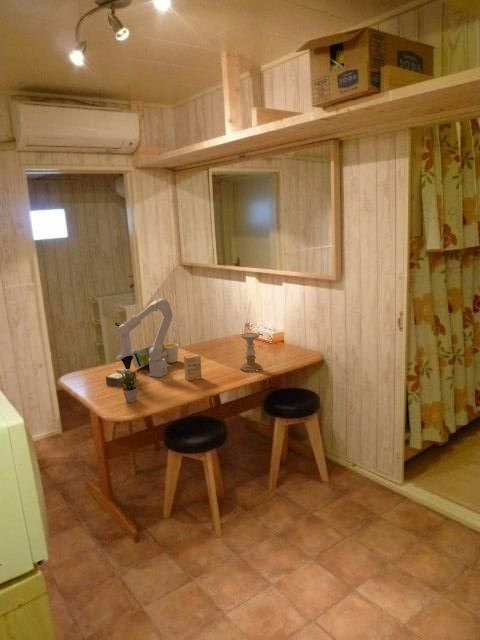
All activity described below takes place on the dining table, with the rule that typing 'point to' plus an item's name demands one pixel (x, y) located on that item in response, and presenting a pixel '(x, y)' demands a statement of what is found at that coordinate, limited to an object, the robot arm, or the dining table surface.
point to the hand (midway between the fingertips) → (127, 369)
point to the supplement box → (192, 367)
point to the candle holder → (250, 353)
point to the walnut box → (117, 381)
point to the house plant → (129, 387)
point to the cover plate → (119, 373)
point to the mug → (171, 352)
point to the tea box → (145, 356)
